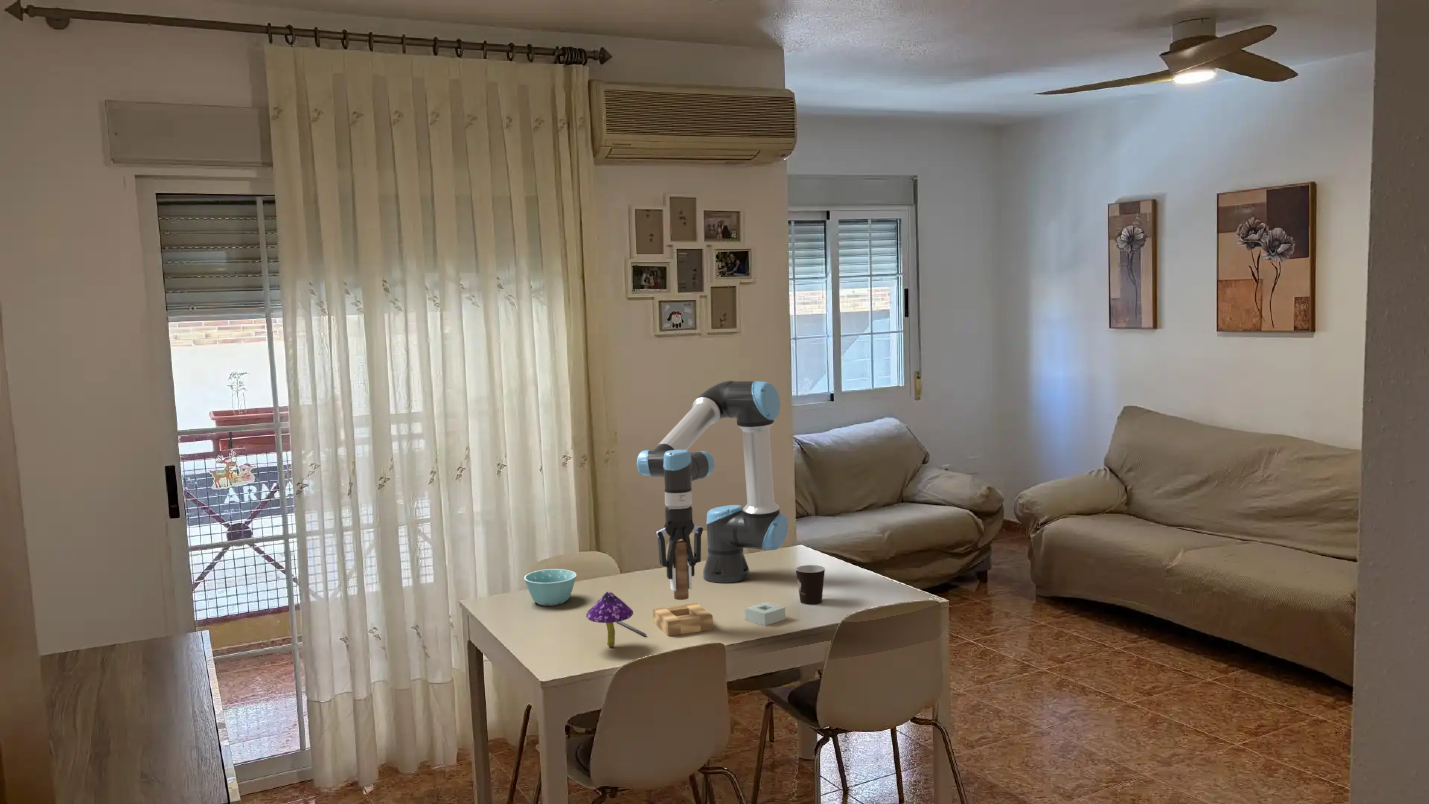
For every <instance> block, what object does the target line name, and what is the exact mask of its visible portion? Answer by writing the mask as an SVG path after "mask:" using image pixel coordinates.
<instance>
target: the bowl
mask: <svg viewBox="0 0 1429 804" xmlns="http://www.w3.org/2000/svg"><path fill="white" fill-rule="evenodd" d="M577 575H578V574H577V573H576V572H575V571H573V570H568V569H562V568H548V569H540V570H535V571H532V572H529V573H527V574H526V575H525V576H523V577H524V578H523V579H524V582H525V584H526V587H527V590H528V593H529V594H530V596H531V598H532V600H533V602H535V603H536V604H537V605H539V606H546V607H547V606H548V607H550V606H551V607H552V606H558V605H561V604H564V603H566V602H567V601H568V600H569V599H570V598H571V595H572V591H573V588H574V586H575V582H576V579H577Z"/></svg>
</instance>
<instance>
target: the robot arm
mask: <svg viewBox="0 0 1429 804" xmlns="http://www.w3.org/2000/svg"><path fill="white" fill-rule="evenodd" d="M780 409H781V399H780V395H779V392H778V390H777V388H776V386H775V385H773V384H772V383H771V382H768V381H760V380H726V381H725V380H724V381H722V382H719V383H717V384H715V385H713V386H711V387H709V388H707V389H706V390H705V391H704V392H702V393H701V394H700V395H699V396H698V397H696V398H695V400H693V403H692V406H691V409H690V410H689V411H688V412H687V413H686V414H685V415H684V416H683V417H682V419H680V421H678V423H677V424H676V425H675V426H674V427H673V428H672V429H671V430H670V431H669V432H668V433H667V434H666V436H665V437H664V438H663V439H662V440H660V442H659V443H658V444H657V445H656V447H654V449H647V450H641V451H640V453H638V456H637V460H636V468H637V471H638V473H639V474H640V475H642V476H645V477H651V478H664V482H663V483H664V505H665V506H666V507H665V508H664V512H665V513H664V515H665V516H664V517H665V520H664V521H665V523H664V526H663V528H661V529H659V530H658V529H657V530H655V535H656V538H657V544H658V558H659V559H658V560H659V564H660V565H661V566H662V567H665V568H666V578H667V579H668V580H669V586H670V590H671V591H672V592H674V591H676V570H675V567H673V562H674V555H675V549H676V544H677V541H678V540H684V541H685V542H686V543H687V559H688V590H692V589H693V583H692V581H693V580H692V579H693V578H692V577H695V573H696V572H695V566H696V565H697V563H700V562H701V560H702V534H703V531H704V528H703V527H701V526H700V525H696V524H695V523H694V521H693V507H692V506H691V505H692V504H693V497H692V495H693V494H692V493H693V492H692V491H693V490H692V488H693V487H692V482H694V481H697V480H700V479H704V478H706V477H708V476H711V474H712V473H713V471H714V470H715V459H714V458H713V456H712V455H711V454H710V453H709V452H707V451H704V450H702V451H700V450H699V451H698V450H697V451H695V452H690V450H689V449H690V447H692V446H693V444H695V443H696V441H697V440H698V439H699V438H700V437H701V436H702V435H703V433H705V431H706V430H707V429H708V427H709V426H711V425H713V424H716V423H717V422H718V421H719V420H721V419H727V418H731V419H736V426H737V427H738V428H739V429H740V430H741V431H742V446H743V448H742V449H743V458H744V459H743V462H744V473H745V475H744V476H745V486H746V487H745V488H746V501H747V503H746V505H745V506H744V507H743V506H742V505H740V504H730V505H723V506H717V507H714V508H711V509H709V510H708V511H707V512H706V523H705V525H706V536H707V538H706V539H707V542H706V543H707V556H706V559H705V563H704V566H703V570H702V577H703V580H705V581H707V582H712V583H720V584H725V583H726V584H729V583H737V582H742V581H745V580H747V579H749V578H750V576H751V575H750V567H749V565H748V562H747V559H746V556H745V554H744V548H745V549H753V550H761V551H777V550H778V549H780V548H781V547H782V546H783V544H784V543H785V540H786V537H787V533H788V528H789V527H788V526H789V521H788V518H787V516H786V515H785V514H783V513H781V511H780V510H781V509H780V505H779V504H778V503H776V502H775V492H774V489H775V488H774V477H773V475H774V474H773V460H772V447H771V430H770V429H771V427H772V426H773V425H775V420H776V419H777V418H778V417H779V415H780V412H781V411H780ZM692 532H693V533H694V534H693V549H692V544H691V539H690V535H691V534H692ZM666 534H667V535H668V536H669V538H668V548H667V550H666V540H665V537H666ZM666 551H667V552H666Z"/></svg>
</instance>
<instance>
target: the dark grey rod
mask: <svg viewBox="0 0 1429 804" xmlns="http://www.w3.org/2000/svg"><path fill="white" fill-rule="evenodd" d="M616 623H618V624H619V625H621V626H623V627H625V628H627V629H629V630H631V631H633V632H635V633H636V634H638V635H641V636H643V637H647V634H646V633H645V632H643V631H641V630H639V629H637V628H635V627H633V626H631V625H630V624H627V623H625V622H623V621H619V622H616Z"/></svg>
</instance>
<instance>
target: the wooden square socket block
mask: <svg viewBox="0 0 1429 804" xmlns="http://www.w3.org/2000/svg"><path fill="white" fill-rule="evenodd" d="M652 616H653V617H652V618H653V624H654V625H655V626H656V627H658V628H659V629H660V630H661V631H662V632H663V633H664V634H665V635H667V636H668V637H672V636H678V635H684V634H691V633H697V632H698V633H699V632H704V631H710V630H713V629H714V623H713V622H714V621H713V620H714V619H713V614H711V613H710V612H709V611H707V610H706V609H705V608H704V607H703V606H701V605H699V604H698V603H697V602H694V603H693V602H692V603H687V604H679V605H673V606H667V607H659V608H653V609H652Z"/></svg>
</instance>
